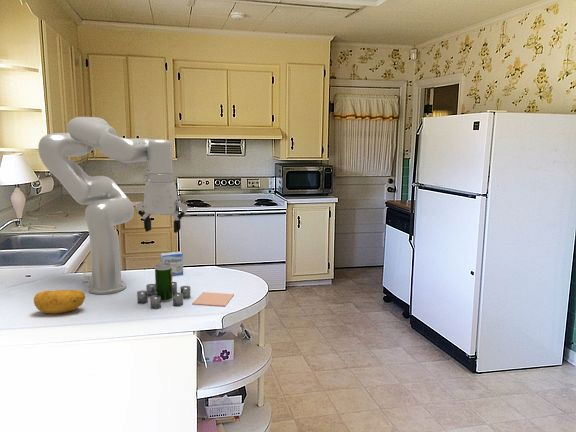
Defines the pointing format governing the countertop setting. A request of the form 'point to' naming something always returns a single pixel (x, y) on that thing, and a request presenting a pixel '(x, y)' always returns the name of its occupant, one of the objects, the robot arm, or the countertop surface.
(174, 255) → the medicine box
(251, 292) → the countertop surface
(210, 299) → the terracotta tile
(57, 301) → the potato
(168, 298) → the beer can
